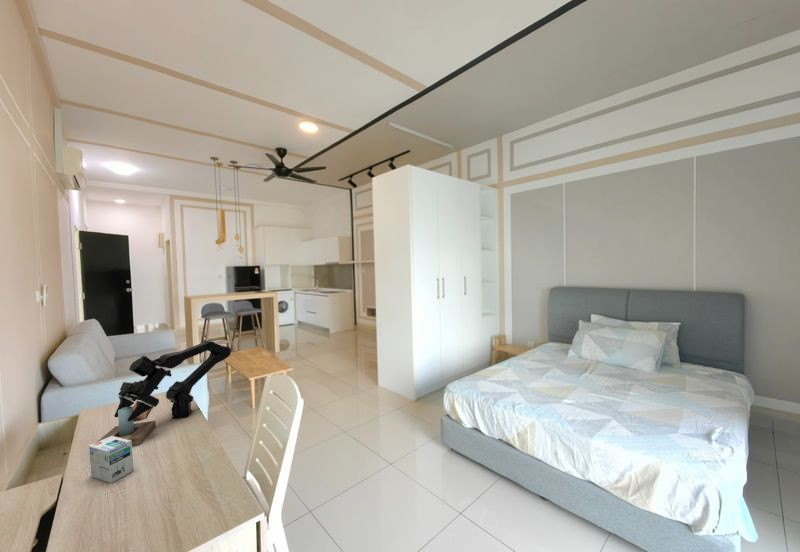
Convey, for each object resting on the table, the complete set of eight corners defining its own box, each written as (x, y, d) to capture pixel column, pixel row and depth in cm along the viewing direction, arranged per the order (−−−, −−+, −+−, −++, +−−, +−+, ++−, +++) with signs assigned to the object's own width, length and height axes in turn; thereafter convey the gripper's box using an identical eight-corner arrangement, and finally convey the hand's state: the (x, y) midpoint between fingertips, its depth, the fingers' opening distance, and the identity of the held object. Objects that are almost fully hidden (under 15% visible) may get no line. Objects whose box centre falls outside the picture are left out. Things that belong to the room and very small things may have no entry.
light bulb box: (134, 470, 104) (132, 439, 104) (110, 484, 98) (108, 451, 97) (114, 464, 108) (112, 434, 107) (89, 477, 101) (87, 445, 101)
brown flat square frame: (155, 427, 132) (155, 420, 132) (138, 445, 119) (138, 437, 119) (115, 433, 128) (115, 426, 128) (93, 452, 115) (93, 444, 115)
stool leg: (137, 435, 125) (135, 406, 125) (125, 442, 121) (123, 412, 121) (128, 435, 126) (126, 406, 126) (116, 441, 122) (114, 411, 121)
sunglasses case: (147, 419, 140) (137, 408, 138) (130, 430, 137) (119, 419, 135) (156, 403, 156) (147, 394, 154) (141, 413, 153) (131, 404, 151)
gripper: (122, 370, 130) (89, 407, 120) (149, 375, 123) (116, 415, 113) (144, 382, 138) (115, 417, 128) (171, 387, 130) (142, 426, 121)
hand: (121, 419), depth 122 cm, fingers open, 9 cm apart
